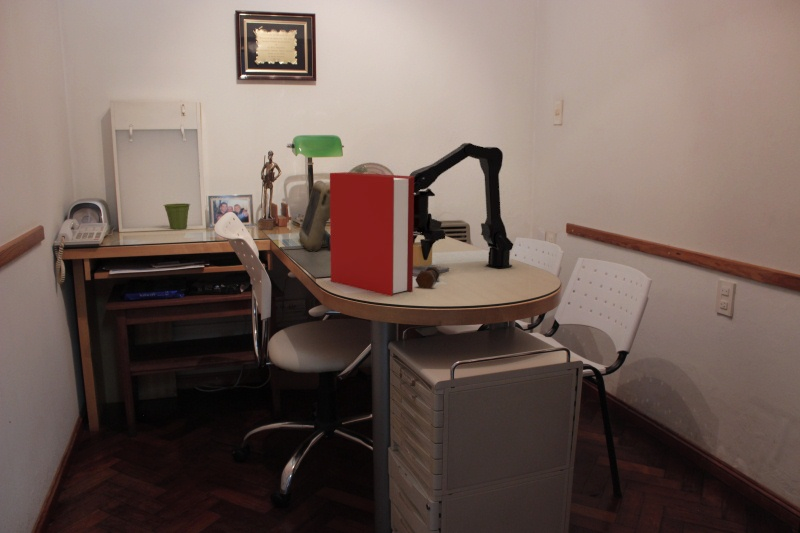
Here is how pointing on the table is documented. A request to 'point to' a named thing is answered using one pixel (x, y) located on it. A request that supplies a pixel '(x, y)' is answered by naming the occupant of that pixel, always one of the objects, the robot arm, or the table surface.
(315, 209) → the rugged handheld device
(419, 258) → the wooden toy cube
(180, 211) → the plant pot
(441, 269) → the junction plate
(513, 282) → the table surface
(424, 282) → the bolt
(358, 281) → the book
